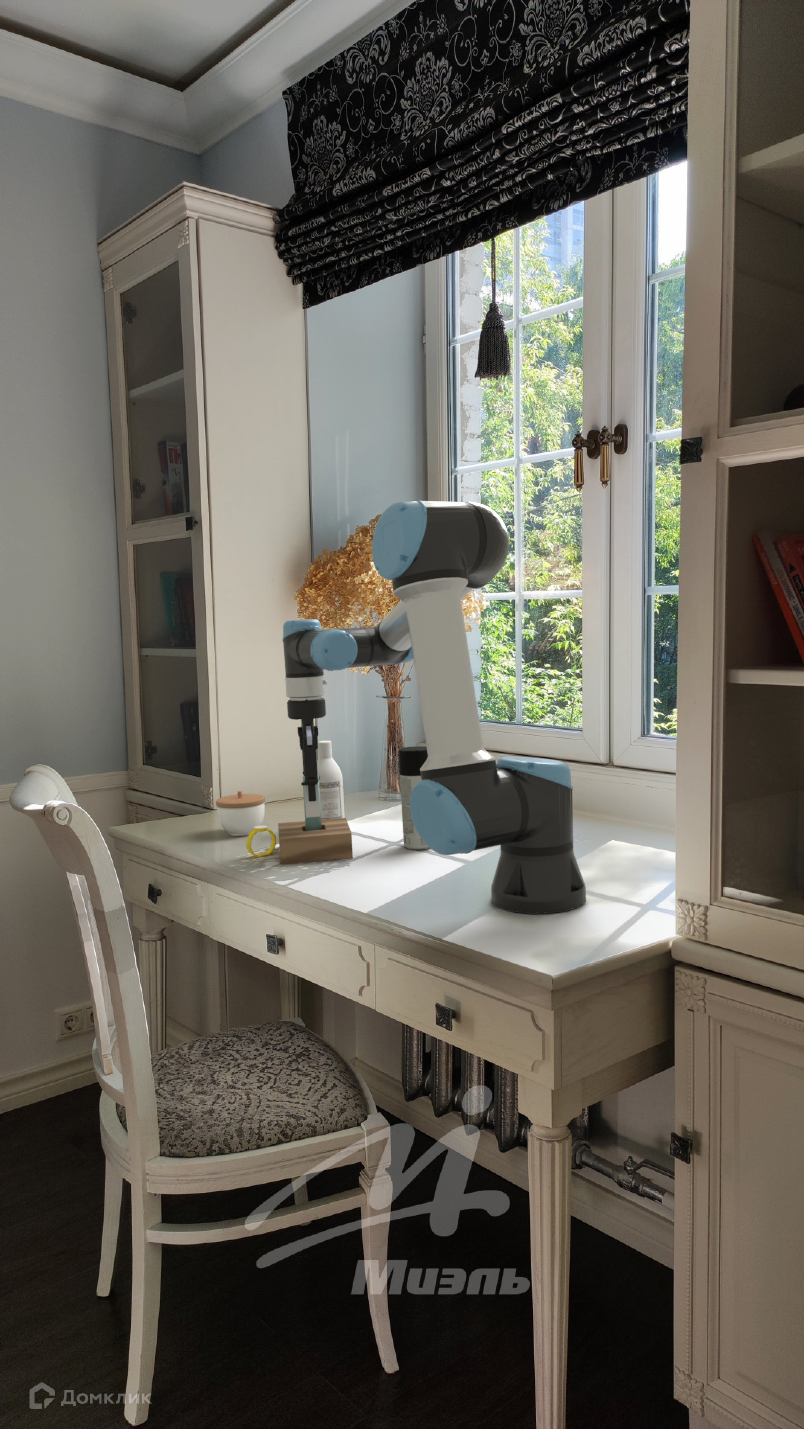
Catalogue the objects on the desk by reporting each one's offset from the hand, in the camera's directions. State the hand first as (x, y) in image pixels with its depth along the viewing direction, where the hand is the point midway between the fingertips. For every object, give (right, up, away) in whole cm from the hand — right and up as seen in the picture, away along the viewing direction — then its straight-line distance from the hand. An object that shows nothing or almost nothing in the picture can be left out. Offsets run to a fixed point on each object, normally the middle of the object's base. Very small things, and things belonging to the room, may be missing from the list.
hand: (312, 814), depth 193 cm
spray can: (+21, -7, +2) cm, 23 cm away
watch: (-10, -8, 0) cm, 13 cm away
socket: (0, -8, +1) cm, 8 cm away
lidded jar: (-18, -6, +21) cm, 28 cm away
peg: (0, -4, 0) cm, 4 cm away
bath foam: (+2, -6, +18) cm, 19 cm away
